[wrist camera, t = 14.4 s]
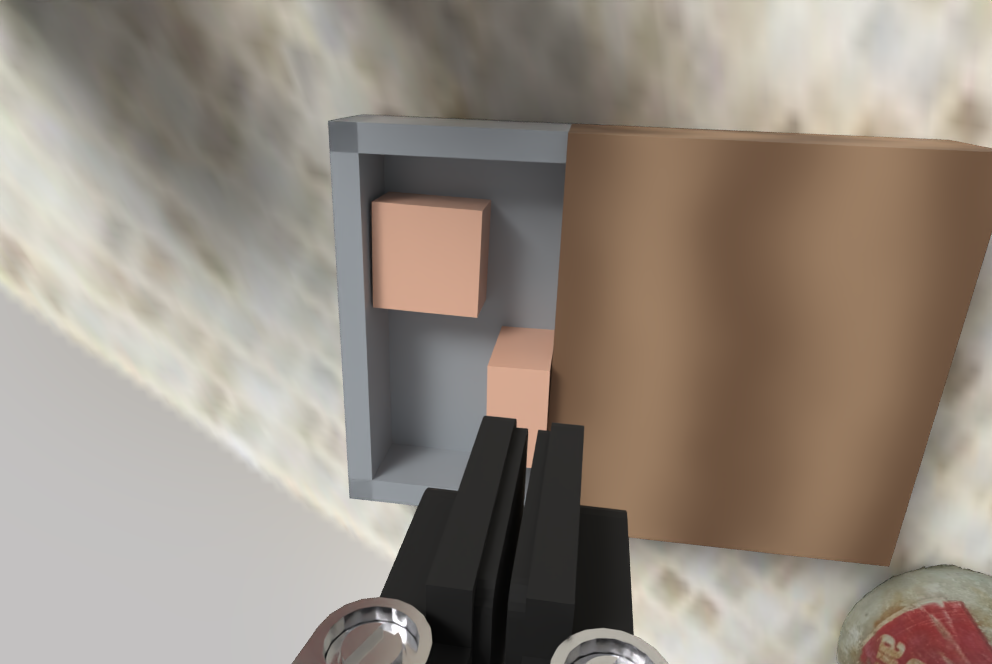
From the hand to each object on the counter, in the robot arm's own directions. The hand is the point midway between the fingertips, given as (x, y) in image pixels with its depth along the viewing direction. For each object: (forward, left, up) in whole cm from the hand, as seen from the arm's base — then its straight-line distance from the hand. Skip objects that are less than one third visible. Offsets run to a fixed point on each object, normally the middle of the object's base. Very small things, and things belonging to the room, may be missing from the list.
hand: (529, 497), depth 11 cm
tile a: (0, +5, -14) cm, 15 cm away
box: (+4, +3, -17) cm, 17 cm away
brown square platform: (-6, +3, -17) cm, 18 cm away
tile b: (+5, 0, -14) cm, 15 cm away
